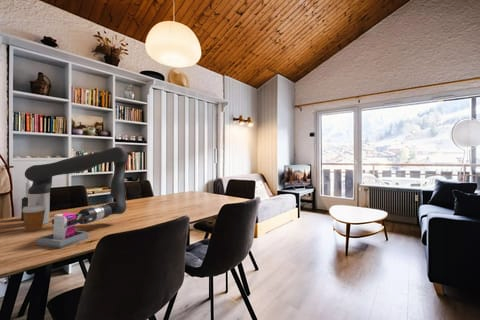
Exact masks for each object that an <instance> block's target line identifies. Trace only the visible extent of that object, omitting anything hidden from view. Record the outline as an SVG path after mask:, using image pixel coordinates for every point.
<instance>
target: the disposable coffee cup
mask: <svg viewBox="0 0 480 320" xmlns="http://www.w3.org/2000/svg"><path fill="white" fill-rule="evenodd" d="M45 210H46V207H45V205H33V206H26V207H23V210H22V209H21V212H23V216H24V220H23V222H24V229H25V232H28V233H29V232H31V233H32V232H37V231H40V230H42V229H43V225H44V224H43V220H44V214H45Z"/></svg>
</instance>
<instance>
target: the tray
mask: <svg viewBox="0 0 480 320" xmlns="http://www.w3.org/2000/svg"><path fill="white" fill-rule="evenodd" d="M84 240H89V231H84V230H83V231H82V230H76V229H75V236H73V237H70V238H67V239H64V240H55V239H53V233H50V234H46V235H42V236H40V237H37V238H36V245H37V246H41V247H46V248H47V247H48V248H53V249H63V248H65V247H68V246H69V247H70V246H71V245H74V244H77V243H79V242H82V241H84Z"/></svg>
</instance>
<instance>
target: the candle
mask: <svg viewBox="0 0 480 320" xmlns="http://www.w3.org/2000/svg"><path fill="white" fill-rule="evenodd" d="M32 184H33V181H30V180H28V179H27V182H25V196H24V197H23V198H21V211H20V212H21V218H20V219H21V221H24V216H23V212H22V210H23V207H26V206H28V190H29V188H30V187H31V186H32Z"/></svg>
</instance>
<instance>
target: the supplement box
mask: <svg viewBox="0 0 480 320" xmlns="http://www.w3.org/2000/svg"><path fill="white" fill-rule="evenodd" d="M53 217H54V218H53V219H54V224H53V233H52V234H53V239H55V240H64V239H67V238H70V237H73V236H75V230H76V224H74V225H71V226H67V221H69V220H73V219H76V213H73V212H62V213H57V214H54V216H53Z"/></svg>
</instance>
